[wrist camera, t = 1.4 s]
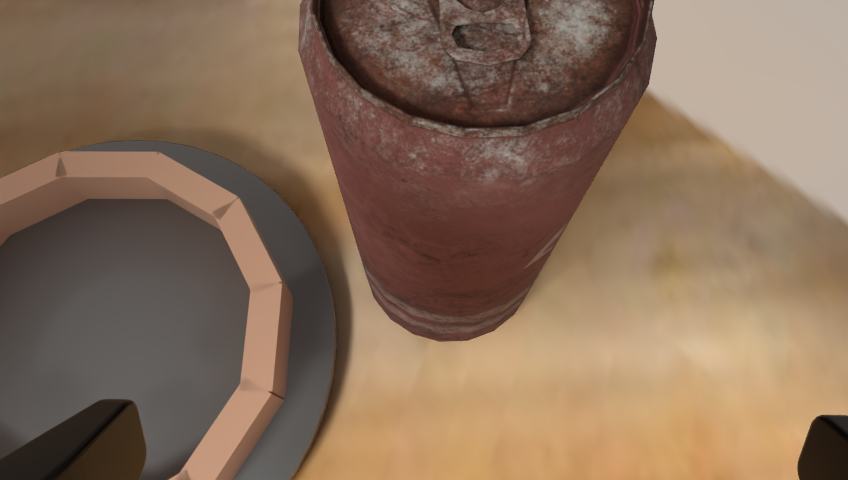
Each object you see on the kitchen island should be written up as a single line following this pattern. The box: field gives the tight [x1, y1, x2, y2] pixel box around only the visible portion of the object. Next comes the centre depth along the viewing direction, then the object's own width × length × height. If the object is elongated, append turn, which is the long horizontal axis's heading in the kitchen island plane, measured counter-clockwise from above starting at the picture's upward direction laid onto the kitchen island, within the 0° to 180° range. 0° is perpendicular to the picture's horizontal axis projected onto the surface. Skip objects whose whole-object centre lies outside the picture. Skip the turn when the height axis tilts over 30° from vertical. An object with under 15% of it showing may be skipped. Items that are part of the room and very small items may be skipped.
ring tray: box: [0, 140, 337, 480], centre depth 20 cm, size 16×16×3 cm
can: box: [298, 0, 657, 342], centre depth 16 cm, size 6×6×14 cm
